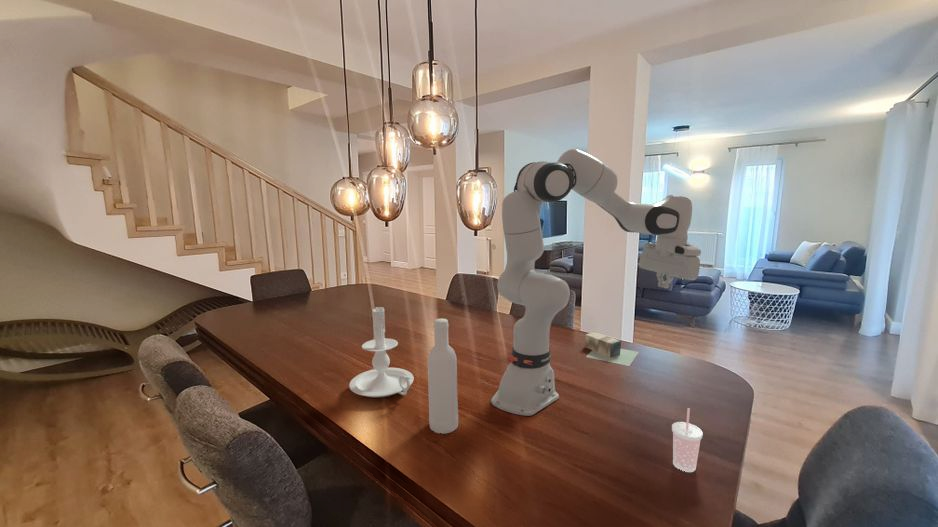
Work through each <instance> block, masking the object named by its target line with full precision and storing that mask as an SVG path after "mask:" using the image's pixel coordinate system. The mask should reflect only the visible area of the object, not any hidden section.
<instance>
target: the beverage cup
mask: <svg viewBox="0 0 938 527" xmlns="http://www.w3.org/2000/svg"><path fill="white" fill-rule="evenodd" d="M690 413H691V408H689V407H688V408H687V412H686V422H685V421H675V422H674V423H672V424H671V431H672V465H673V466H674V467H675V468H676V469H678V470H679V469H680V471H681V470H682V472H684V471H685V473H693V472H695V471H696V468H697V464H698V459H699V451H700V446H701V440H702V439H703V436H704V435H703V434H704V433H703V431H702V429H701V428H700V427H698V426H697V425H695V424H692V423H690Z"/></svg>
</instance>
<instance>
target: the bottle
mask: <svg viewBox="0 0 938 527" xmlns="http://www.w3.org/2000/svg"><path fill="white" fill-rule="evenodd" d="M433 328H434V329H433V330H434V345H433V347H432V348H431V349H430V350H429V353H428V355H427V358H426V359H427V360H426V361H427V386H428V389H427V390H428V414H429V415H428V422H429V428H430V430H431V431H432V432H433V431H434V433H436V434H440V433H441V435H442V434H443V435H444V434H446V435H447V434H449V433H453V432H454V431H455V430H457V429H458V426H459V409H458V408H459V406H458V405H459V404H458V403H459V402H458V400H459V399H458V365H457V364H458V363H457V361H458V360H457V355H456V351H455V349H454V348H453V347H452V346H450V345H449V320H448V319H447V318H436V319H435V320H434V321H433Z"/></svg>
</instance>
